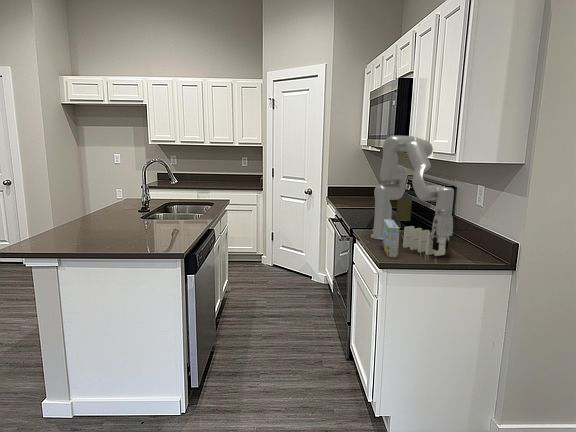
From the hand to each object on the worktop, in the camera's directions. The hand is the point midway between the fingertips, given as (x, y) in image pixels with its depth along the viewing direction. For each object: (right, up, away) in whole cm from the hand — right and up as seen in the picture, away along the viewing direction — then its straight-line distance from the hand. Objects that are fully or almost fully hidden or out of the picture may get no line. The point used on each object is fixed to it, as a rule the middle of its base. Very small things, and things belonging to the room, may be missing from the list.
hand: (440, 248), depth 198 cm
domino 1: (-10, 0, +18) cm, 21 cm away
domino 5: (0, -3, +1) cm, 3 cm away
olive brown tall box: (+9, +13, +96) cm, 97 cm away
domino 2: (-8, -1, +14) cm, 16 cm away
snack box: (-23, -2, +7) cm, 24 cm away
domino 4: (-3, -3, +5) cm, 7 cm away
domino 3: (-5, -2, +10) cm, 11 cm away
